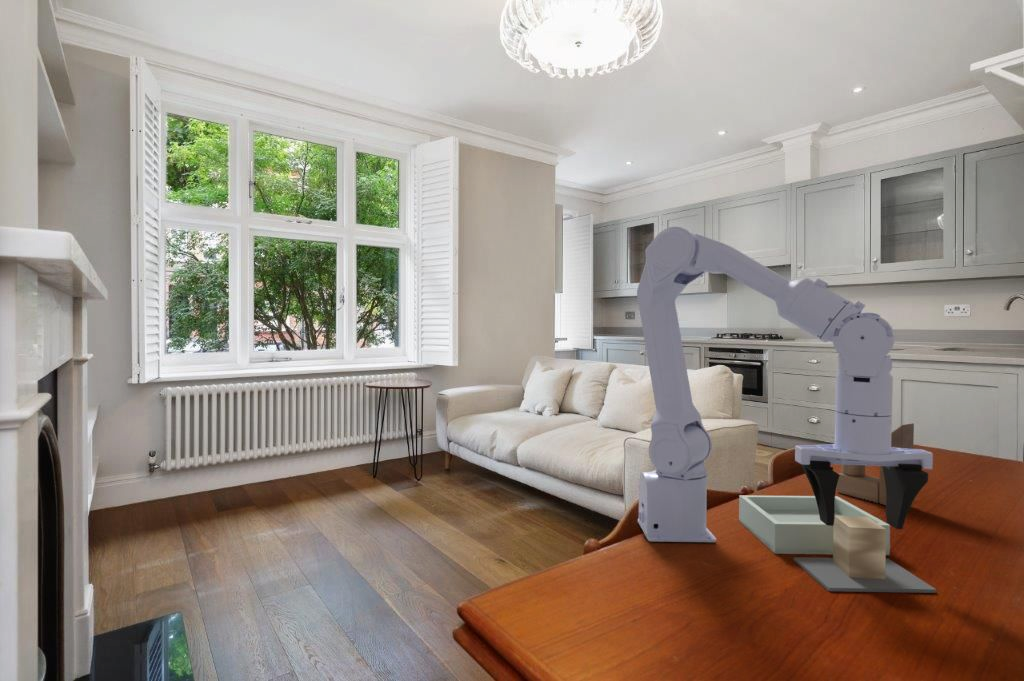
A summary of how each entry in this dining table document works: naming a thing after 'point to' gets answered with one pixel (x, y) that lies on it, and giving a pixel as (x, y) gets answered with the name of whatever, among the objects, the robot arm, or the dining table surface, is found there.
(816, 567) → the mat
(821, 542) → the box
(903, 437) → the wooden block structure
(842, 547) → the birch block
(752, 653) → the dining table surface
